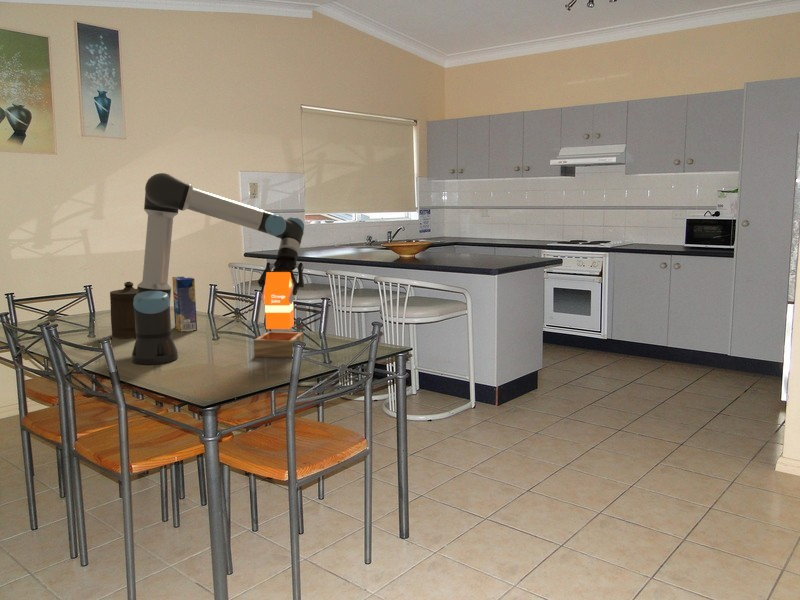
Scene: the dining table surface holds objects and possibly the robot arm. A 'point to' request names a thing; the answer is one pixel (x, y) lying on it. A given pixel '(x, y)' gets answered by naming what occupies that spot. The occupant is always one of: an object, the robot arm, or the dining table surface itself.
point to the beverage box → (184, 303)
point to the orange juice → (278, 301)
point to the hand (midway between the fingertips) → (276, 301)
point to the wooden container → (123, 312)
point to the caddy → (276, 344)
